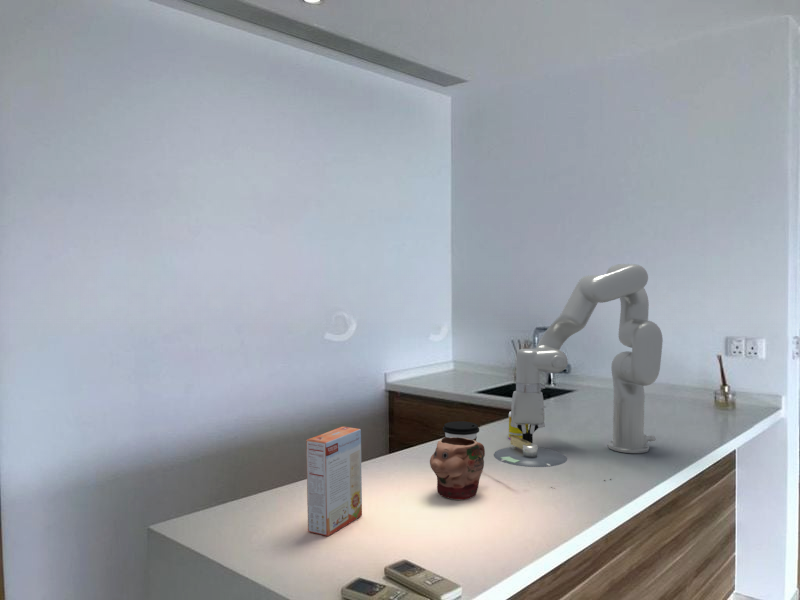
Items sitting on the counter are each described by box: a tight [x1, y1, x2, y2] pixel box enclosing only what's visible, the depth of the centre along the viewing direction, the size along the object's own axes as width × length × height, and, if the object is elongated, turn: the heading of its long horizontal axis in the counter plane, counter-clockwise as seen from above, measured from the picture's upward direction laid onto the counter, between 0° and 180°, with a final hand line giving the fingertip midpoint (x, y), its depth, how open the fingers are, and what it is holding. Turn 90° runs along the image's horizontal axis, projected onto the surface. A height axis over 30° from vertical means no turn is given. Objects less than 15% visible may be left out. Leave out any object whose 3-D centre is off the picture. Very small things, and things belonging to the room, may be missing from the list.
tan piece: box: [510, 435, 539, 457], centre depth 203 cm, size 13×4×4 cm, turn 21°
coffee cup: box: [442, 420, 480, 441], centre depth 194 cm, size 11×11×12 cm
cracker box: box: [305, 426, 363, 537], centre depth 148 cm, size 14×6×21 cm, turn 150°
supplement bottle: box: [507, 411, 529, 441], centre depth 220 cm, size 7×7×13 cm
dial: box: [493, 446, 568, 468], centre depth 199 cm, size 22×22×1 cm
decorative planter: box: [429, 436, 486, 501], centre depth 169 cm, size 20×12×14 cm, turn 141°
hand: (527, 445), depth 207 cm, fingers closed
